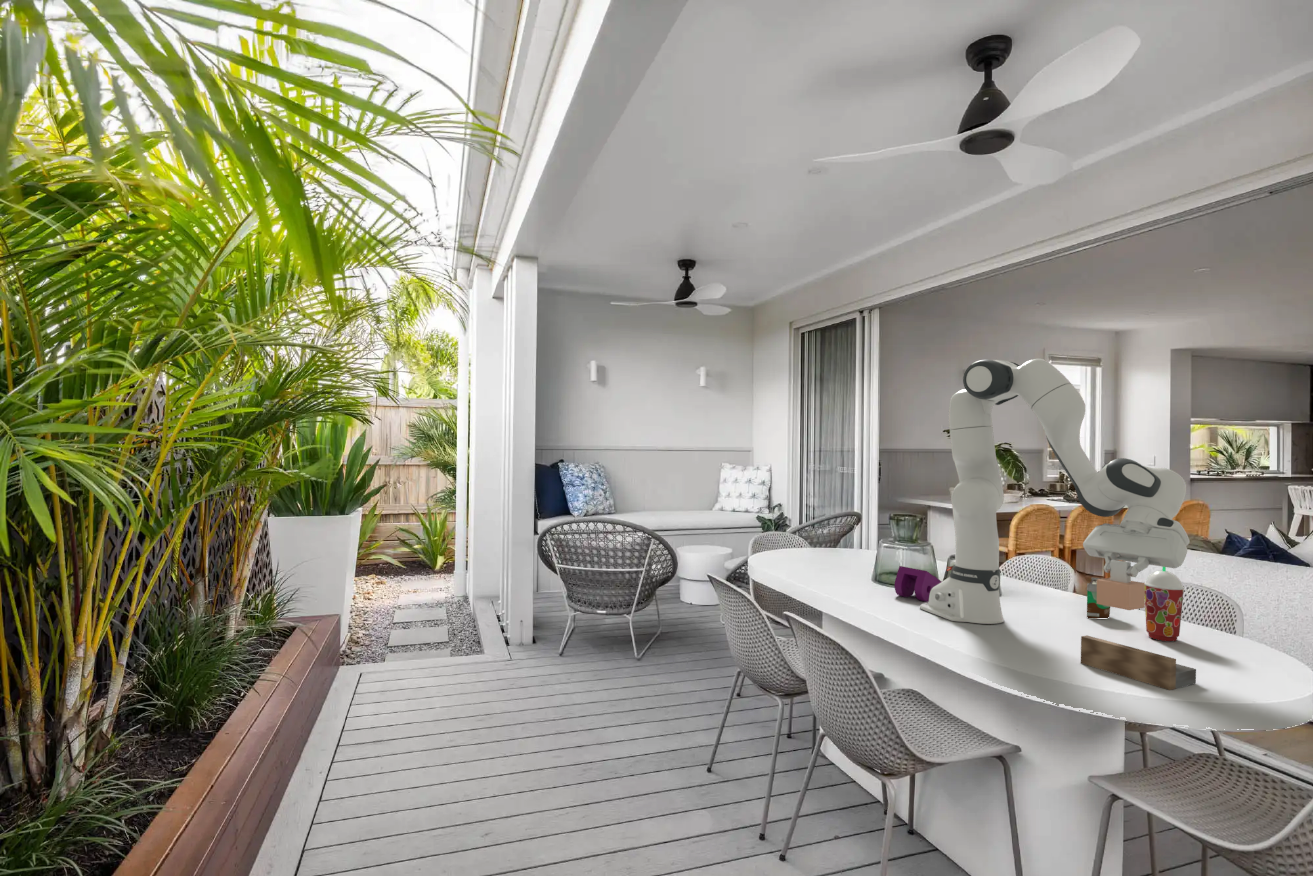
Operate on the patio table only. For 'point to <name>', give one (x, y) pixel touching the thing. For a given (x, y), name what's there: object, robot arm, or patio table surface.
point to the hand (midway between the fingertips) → (1118, 573)
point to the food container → (1095, 602)
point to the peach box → (1120, 588)
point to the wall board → (1135, 663)
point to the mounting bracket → (915, 583)
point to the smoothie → (1163, 605)
